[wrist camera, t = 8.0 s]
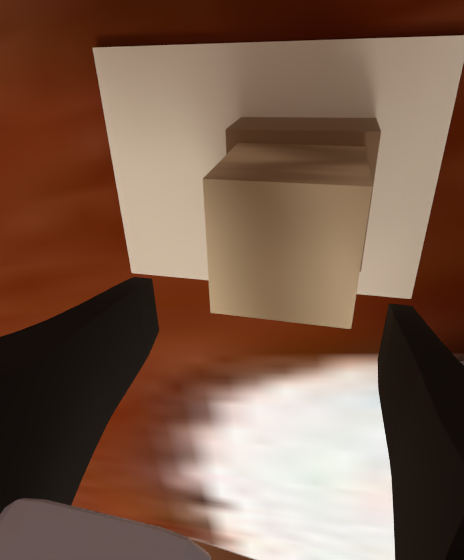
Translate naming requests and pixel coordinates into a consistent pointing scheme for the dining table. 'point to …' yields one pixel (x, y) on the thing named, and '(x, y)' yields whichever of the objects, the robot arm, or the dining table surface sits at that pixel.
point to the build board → (270, 81)
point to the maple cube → (287, 231)
